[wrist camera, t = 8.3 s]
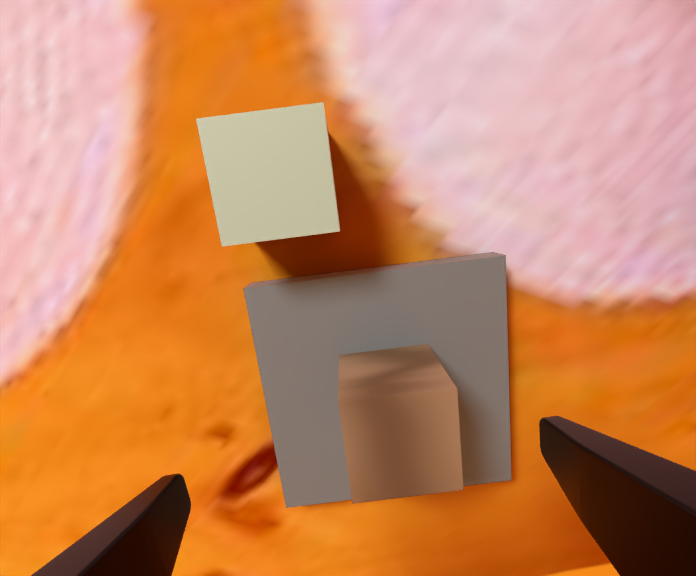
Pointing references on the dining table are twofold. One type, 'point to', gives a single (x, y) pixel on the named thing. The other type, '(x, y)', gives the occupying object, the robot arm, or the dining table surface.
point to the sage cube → (270, 173)
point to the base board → (376, 334)
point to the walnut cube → (399, 424)
